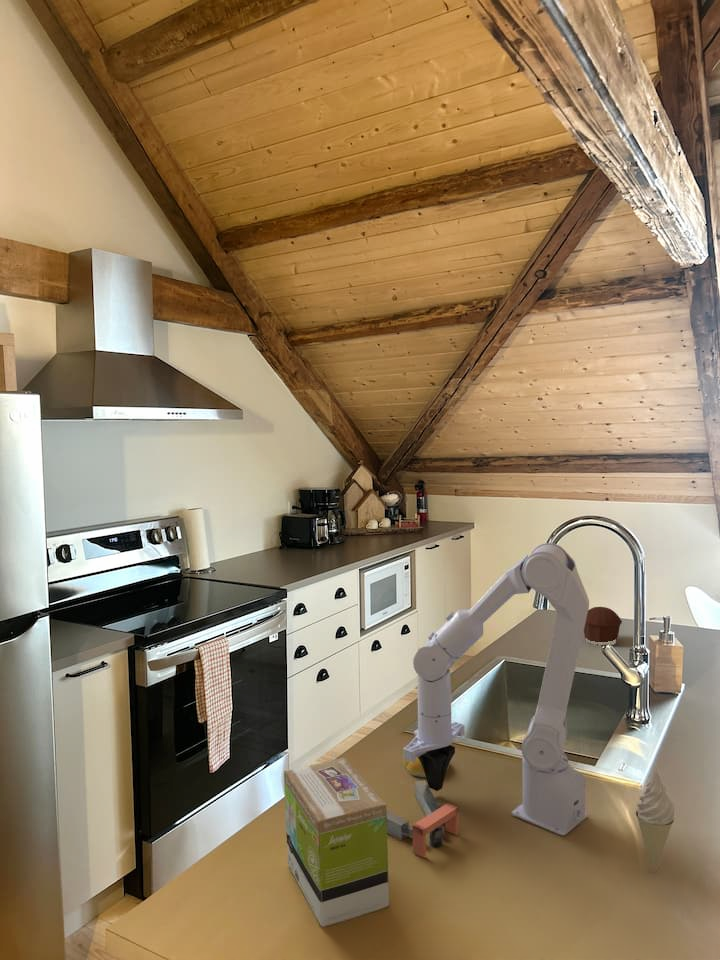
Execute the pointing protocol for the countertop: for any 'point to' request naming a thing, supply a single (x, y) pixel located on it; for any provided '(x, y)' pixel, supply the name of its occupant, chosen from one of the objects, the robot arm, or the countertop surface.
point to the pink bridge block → (434, 826)
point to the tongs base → (410, 830)
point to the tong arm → (426, 798)
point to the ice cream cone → (655, 819)
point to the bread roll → (415, 768)
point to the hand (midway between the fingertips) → (435, 787)
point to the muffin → (602, 625)
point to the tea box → (336, 840)
